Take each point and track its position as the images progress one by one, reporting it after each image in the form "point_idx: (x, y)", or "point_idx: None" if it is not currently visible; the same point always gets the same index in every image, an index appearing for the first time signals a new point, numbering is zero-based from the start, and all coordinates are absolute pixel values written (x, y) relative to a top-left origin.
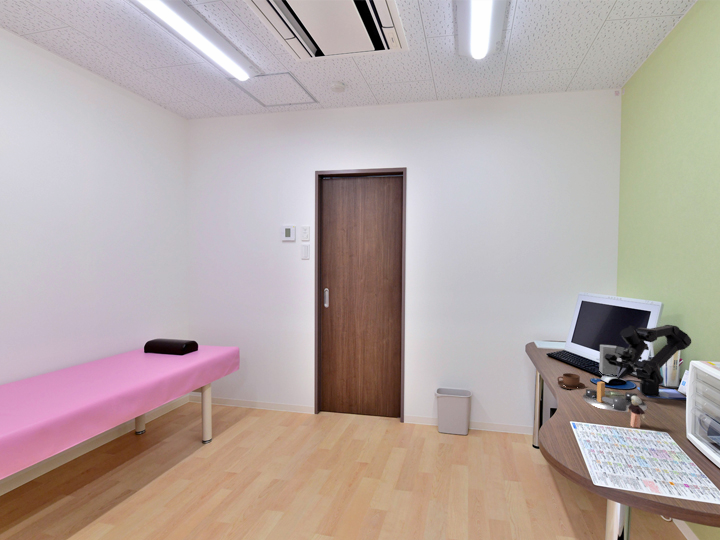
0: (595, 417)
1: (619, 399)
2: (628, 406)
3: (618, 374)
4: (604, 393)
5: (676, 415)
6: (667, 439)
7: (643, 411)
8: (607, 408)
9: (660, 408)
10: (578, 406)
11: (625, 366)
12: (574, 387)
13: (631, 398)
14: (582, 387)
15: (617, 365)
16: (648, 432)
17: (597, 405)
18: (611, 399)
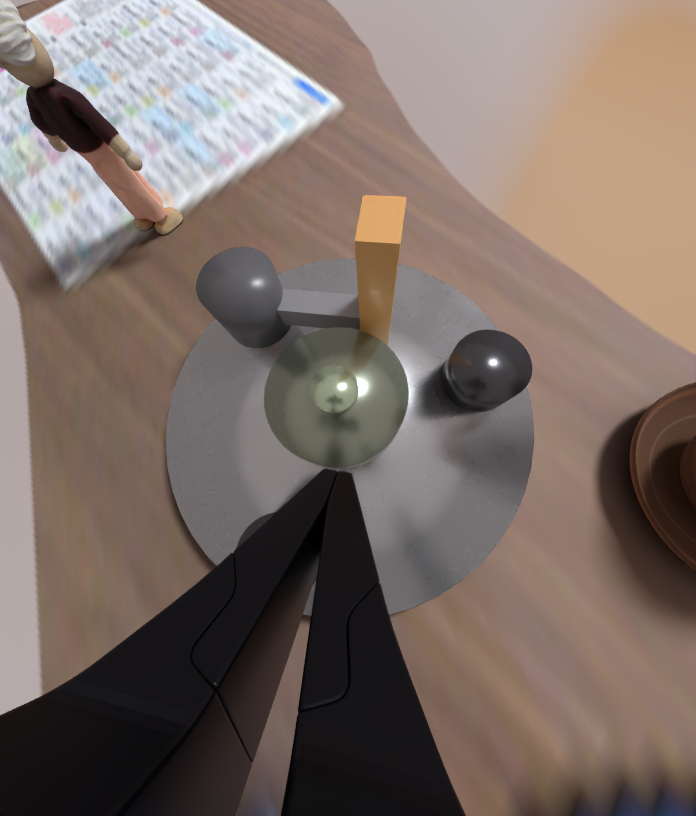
0: (302, 193)
1: (230, 266)
2: (246, 394)
3: (326, 502)
4: (360, 310)
5: (47, 535)
6: (54, 231)
7: (29, 109)
8: (303, 277)
9: (134, 585)
10: (422, 232)
11: (42, 749)
12: (682, 456)
13: (18, 11)
14: (670, 532)
15: (447, 800)
16: (113, 231)
17: (356, 272)
18: (300, 300)
